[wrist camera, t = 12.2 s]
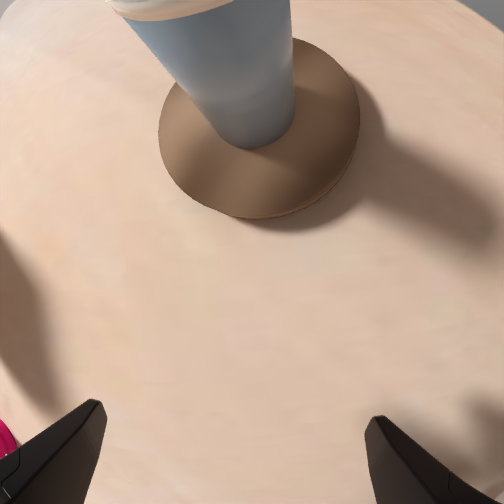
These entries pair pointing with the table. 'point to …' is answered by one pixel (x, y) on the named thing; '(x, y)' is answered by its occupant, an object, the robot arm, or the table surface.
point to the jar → (225, 60)
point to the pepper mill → (6, 441)
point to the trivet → (267, 146)
